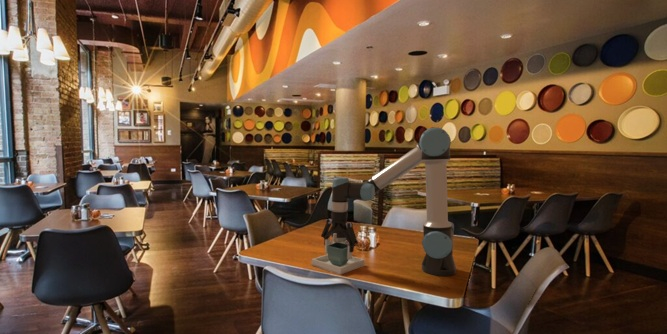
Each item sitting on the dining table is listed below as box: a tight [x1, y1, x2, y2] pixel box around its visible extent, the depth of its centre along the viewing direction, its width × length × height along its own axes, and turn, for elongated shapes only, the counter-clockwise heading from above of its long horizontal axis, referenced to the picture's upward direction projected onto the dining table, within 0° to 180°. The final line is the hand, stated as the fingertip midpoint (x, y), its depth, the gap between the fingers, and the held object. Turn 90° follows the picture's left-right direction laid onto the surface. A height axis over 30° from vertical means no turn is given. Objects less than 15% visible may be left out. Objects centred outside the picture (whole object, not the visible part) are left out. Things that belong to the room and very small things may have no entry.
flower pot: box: [327, 242, 349, 266], centre depth 169 cm, size 9×9×9 cm
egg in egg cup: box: [330, 226, 348, 243], centre depth 213 cm, size 10×10×15 cm
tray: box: [311, 253, 365, 276], centre depth 170 cm, size 18×18×3 cm
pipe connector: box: [330, 233, 345, 244], centre depth 191 cm, size 10×10×10 cm
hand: (338, 255), depth 170 cm, fingers open, 13 cm apart
